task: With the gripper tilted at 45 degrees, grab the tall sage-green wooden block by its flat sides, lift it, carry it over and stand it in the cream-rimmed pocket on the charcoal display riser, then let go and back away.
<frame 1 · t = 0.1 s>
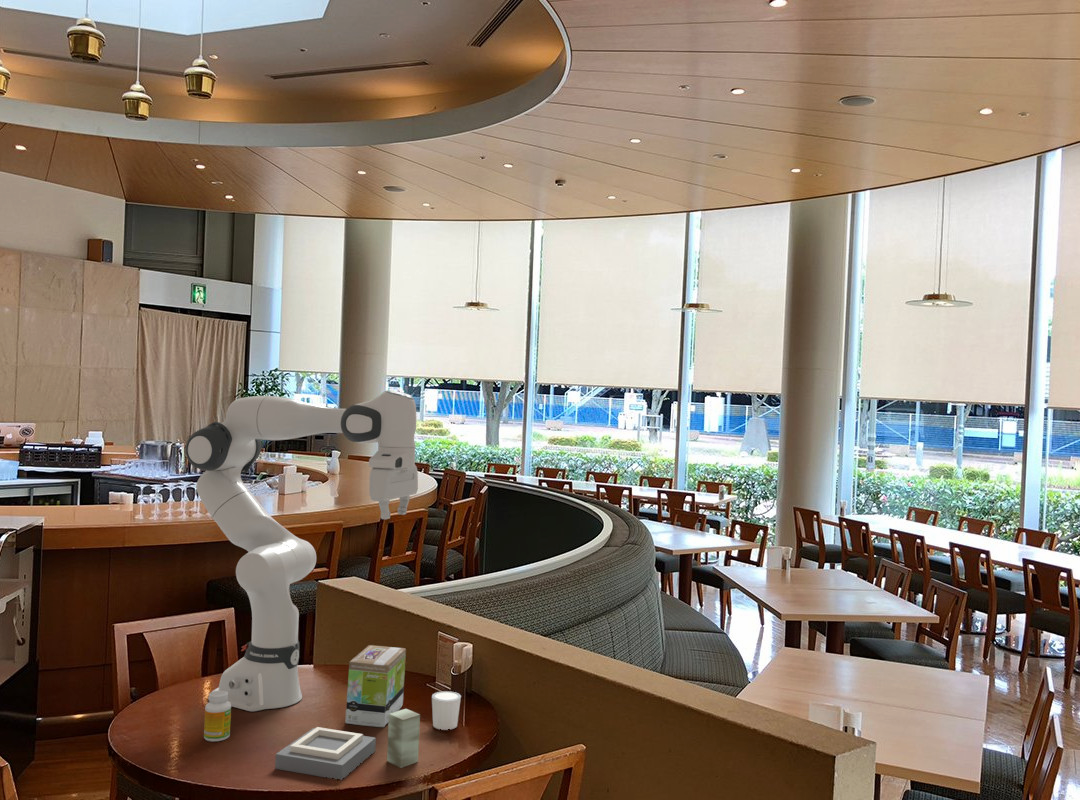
hand: (393, 516, 207), 48 cm above the table, tool pointing down, fingers open, 8 cm apart
white cup: (445, 726, 204), on the table
green block: (402, 761, 183), on the table
supplement bottle: (216, 738, 191), on the table
display riser: (326, 759, 182), on the table
tea box: (375, 715, 209), on the table
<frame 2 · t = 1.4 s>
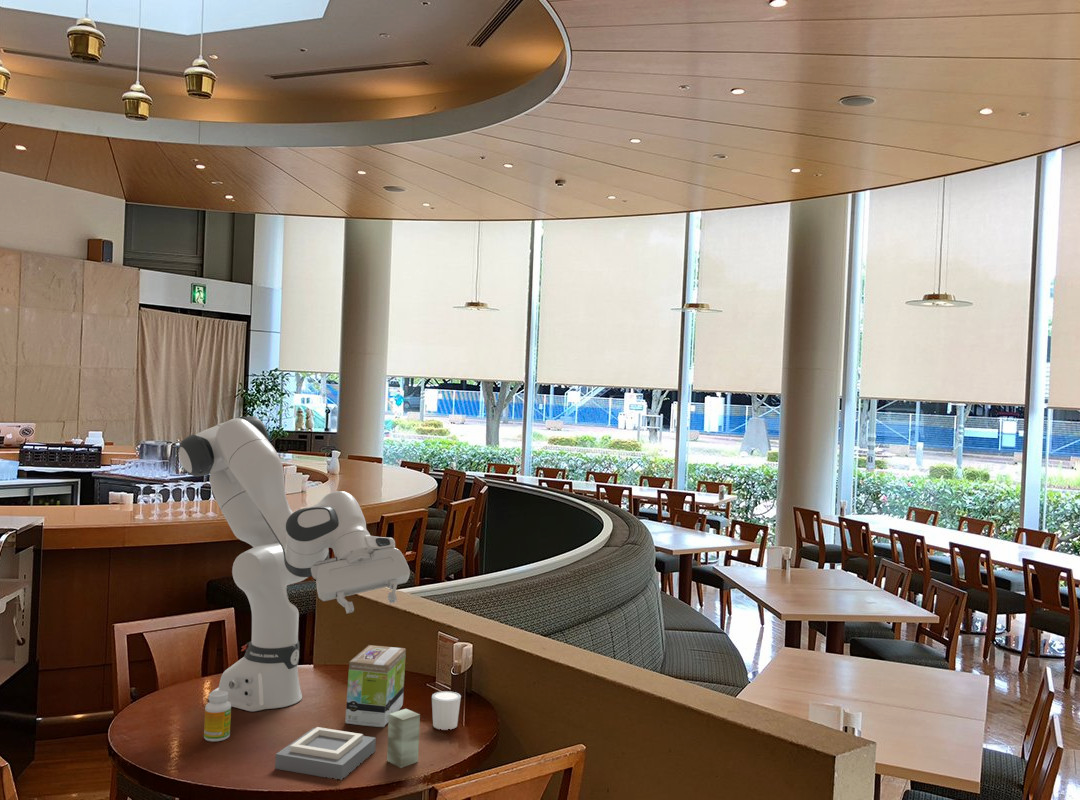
hand: (372, 606, 186), 32 cm above the table, tool tilted 45°, fingers open, 8 cm apart
nothing on the table moved.
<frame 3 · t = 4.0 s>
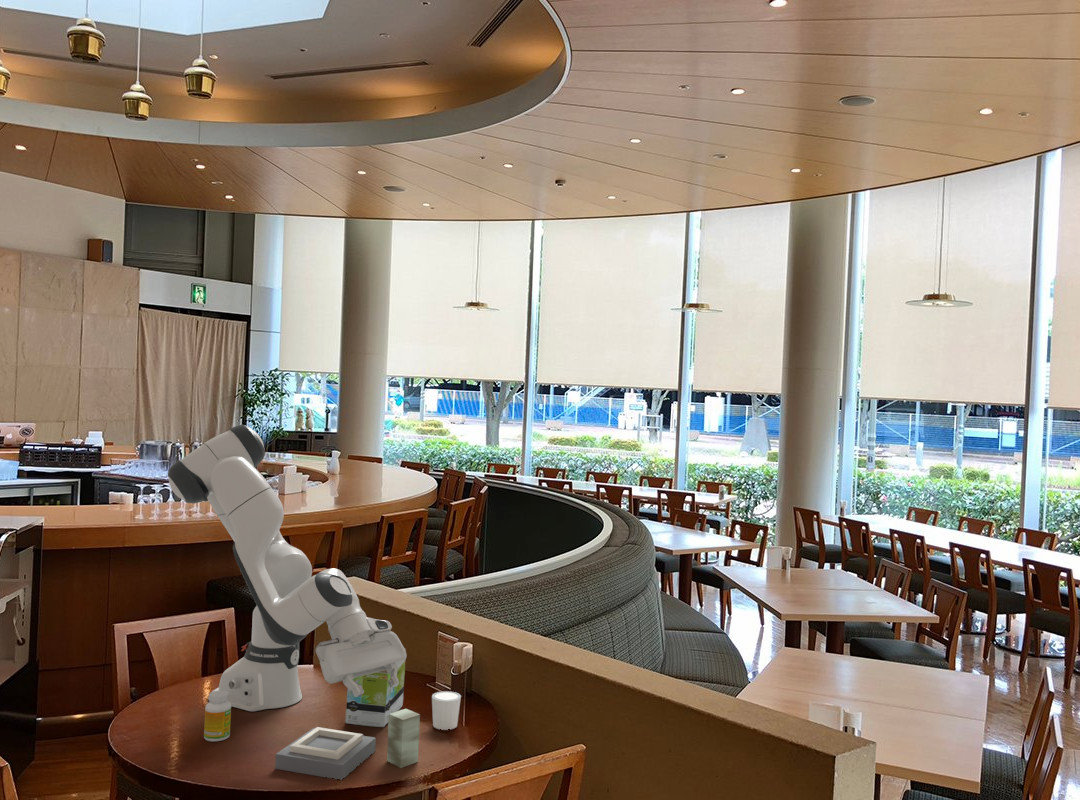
hand: (377, 690, 187), 13 cm above the table, tool tilted 45°, fingers open, 8 cm apart
nothing on the table moved.
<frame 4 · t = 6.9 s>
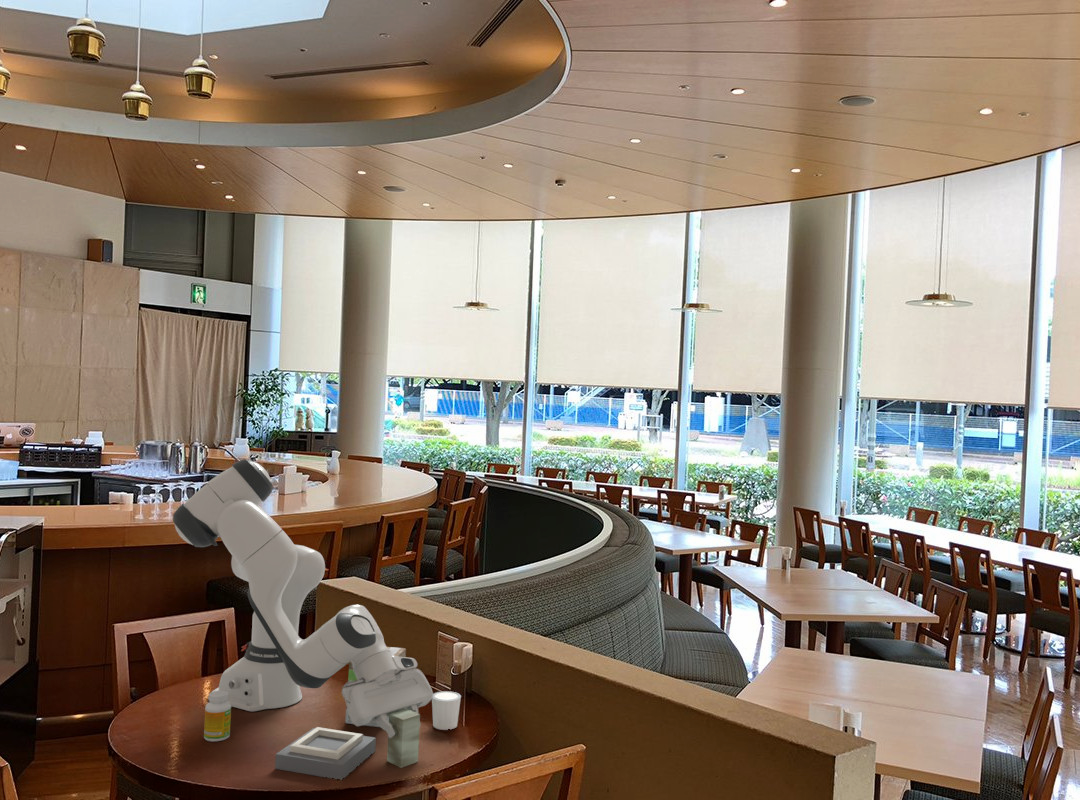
hand: (405, 731, 182), 6 cm above the table, tool tilted 45°, fingers closed on green block, 5 cm apart
green block: (402, 761, 183), on the table, touching gripper
everything else where it was.
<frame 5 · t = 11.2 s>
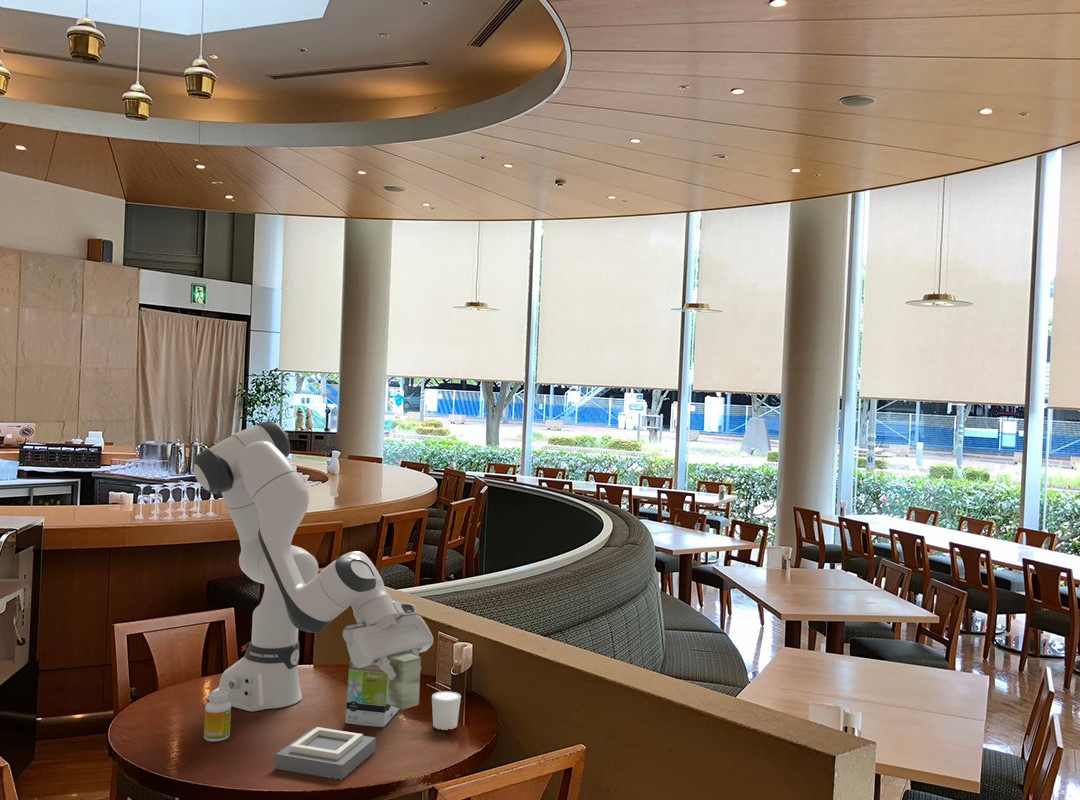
hand: (406, 674, 183), 18 cm above the table, tool tilted 45°, fingers closed on green block, 5 cm apart
green block: (403, 704, 183), point 12 cm above the table, touching gripper
everything else where it was.
when the fingers open (10 cm above the table, at t = 15.6 s): green block drops 1 cm, resting on display riser.
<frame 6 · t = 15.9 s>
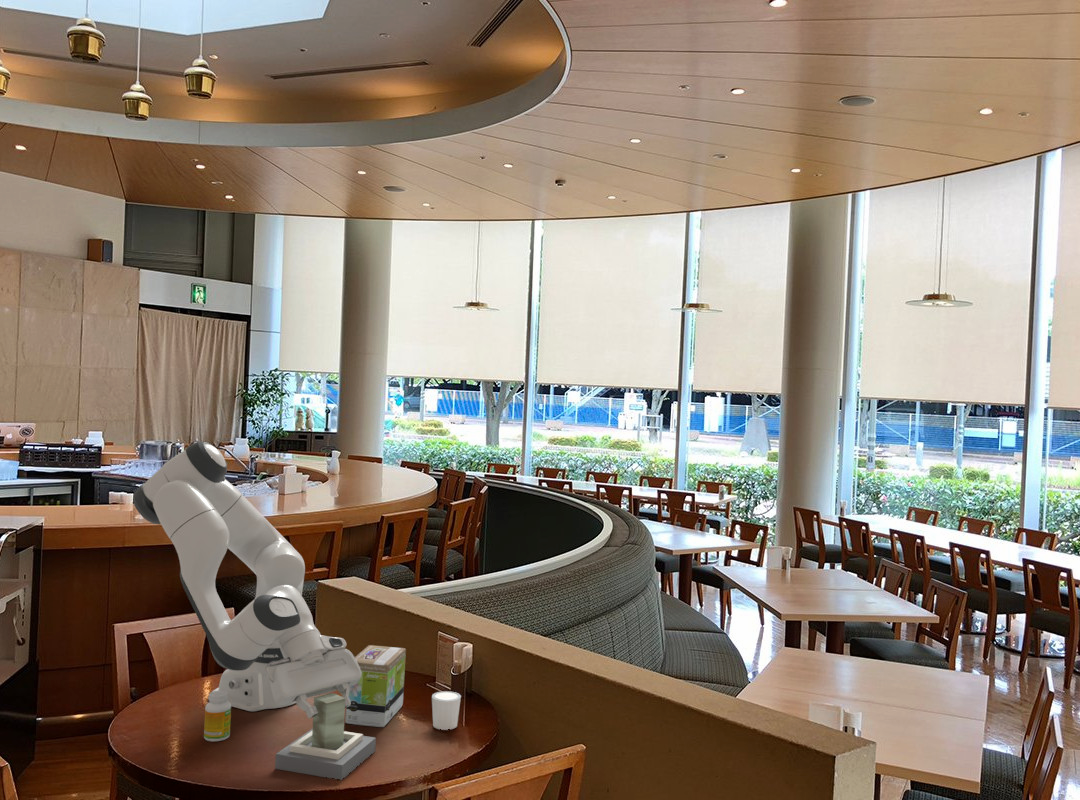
hand: (330, 711, 182), 10 cm above the table, tool tilted 45°, fingers open, 7 cm apart
green block: (327, 745, 182), point 3 cm above the table, touching display riser
everything else where it was.
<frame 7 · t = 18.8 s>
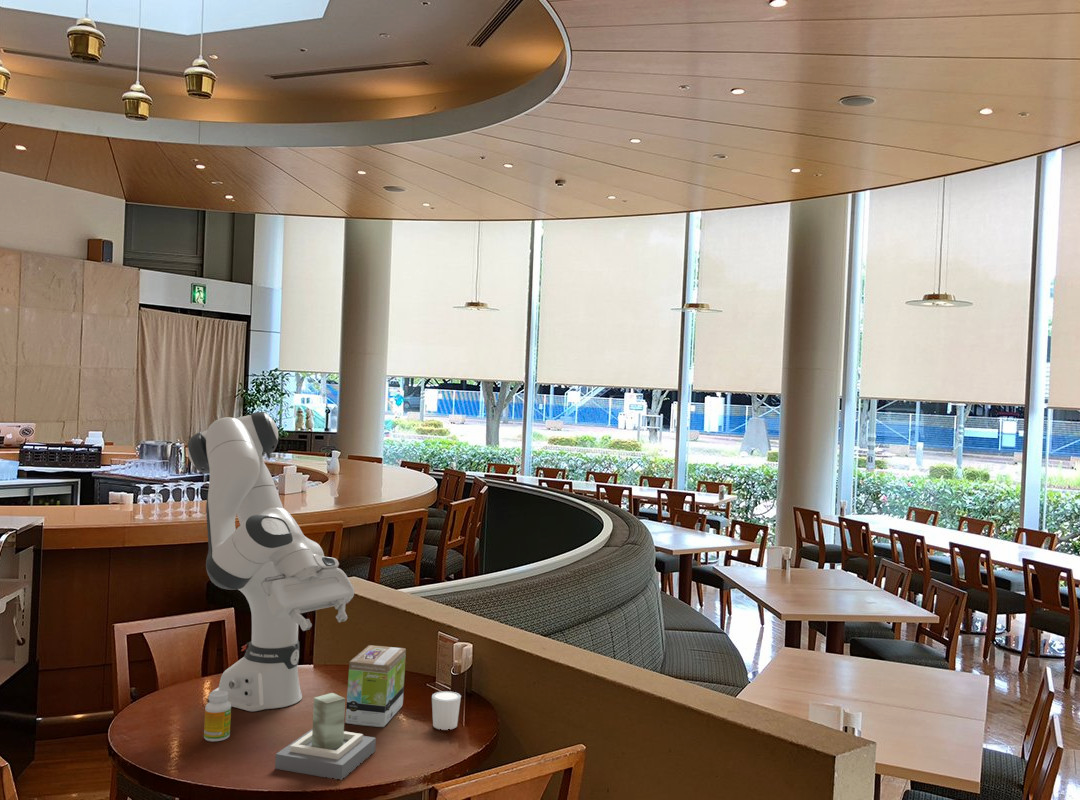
hand: (326, 624, 186), 27 cm above the table, tool tilted 45°, fingers open, 8 cm apart
nothing on the table moved.
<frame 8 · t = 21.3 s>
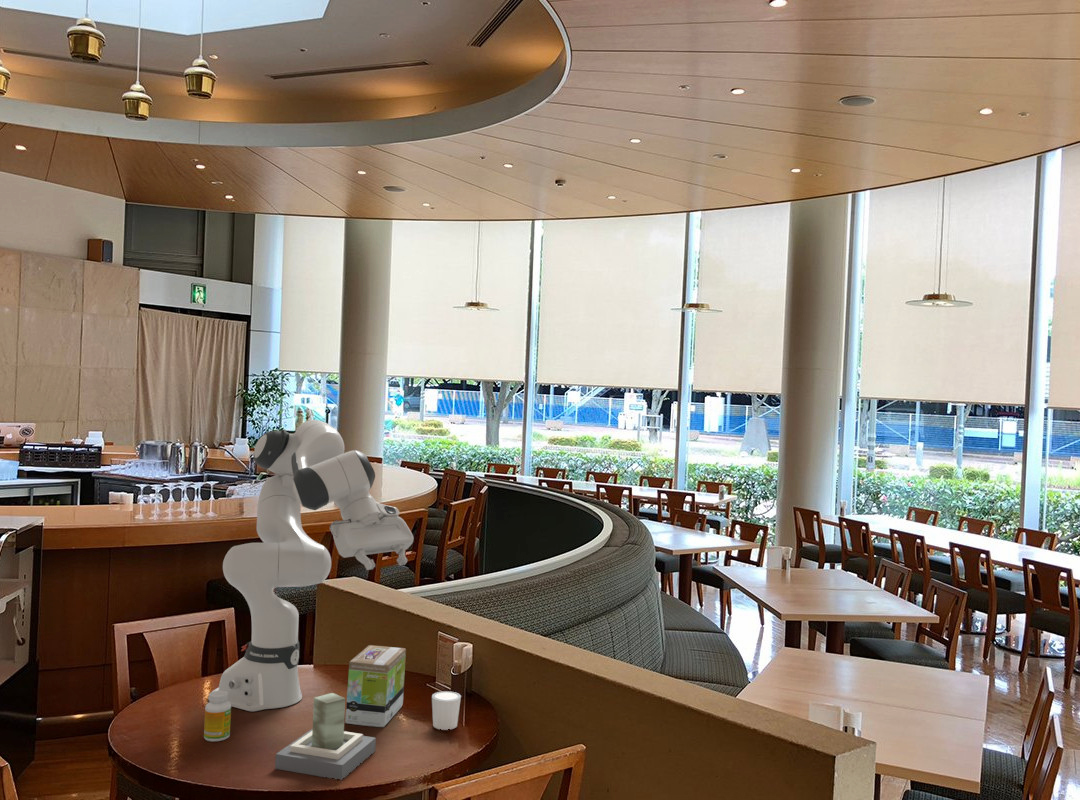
hand: (387, 565, 201), 37 cm above the table, tool tilted 45°, fingers open, 8 cm apart
nothing on the table moved.
at the end: green block 0.1 cm off-centre on the display riser, point 3.0 cm above the display riser's base; green block tilted 0°; the gripper is holding nothing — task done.
